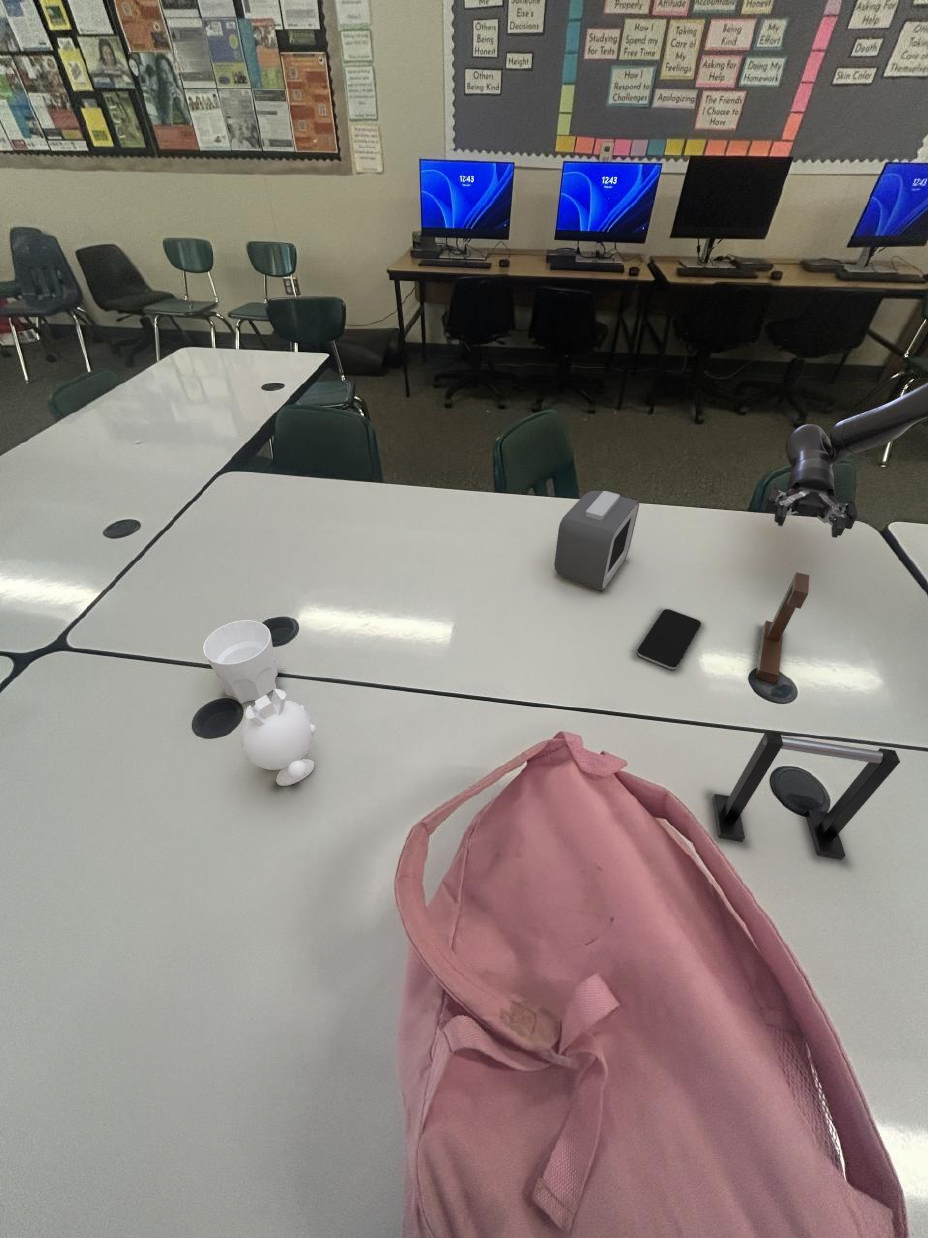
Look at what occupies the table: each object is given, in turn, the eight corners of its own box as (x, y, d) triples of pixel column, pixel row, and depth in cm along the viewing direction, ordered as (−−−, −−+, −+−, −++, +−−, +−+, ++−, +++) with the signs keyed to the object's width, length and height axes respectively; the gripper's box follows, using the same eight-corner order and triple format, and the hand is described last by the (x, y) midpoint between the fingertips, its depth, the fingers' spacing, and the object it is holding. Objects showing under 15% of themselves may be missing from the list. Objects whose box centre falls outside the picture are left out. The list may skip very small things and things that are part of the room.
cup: (296, 678, 95) (283, 635, 88) (248, 717, 89) (231, 673, 82) (256, 655, 99) (242, 612, 93) (208, 690, 93) (189, 647, 86)
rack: (828, 816, 76) (894, 735, 64) (842, 859, 71) (915, 780, 60) (712, 797, 78) (755, 715, 66) (718, 837, 73) (765, 757, 62)
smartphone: (703, 621, 105) (676, 669, 95) (702, 624, 105) (675, 671, 96) (664, 607, 108) (635, 652, 98) (663, 610, 108) (634, 654, 99)
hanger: (779, 633, 103) (813, 565, 93) (774, 683, 94) (811, 614, 84) (762, 628, 104) (793, 560, 94) (755, 677, 95) (789, 608, 85)
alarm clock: (600, 596, 112) (613, 528, 101) (548, 578, 116) (556, 512, 106) (627, 556, 122) (642, 491, 112) (579, 541, 127) (589, 477, 116)
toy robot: (343, 787, 79) (326, 720, 69) (278, 824, 75) (250, 759, 65) (300, 719, 88) (279, 651, 79) (239, 749, 84) (210, 681, 74)
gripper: (777, 459, 107) (772, 499, 96) (861, 474, 102) (866, 517, 91) (763, 494, 112) (757, 536, 101) (843, 510, 107) (845, 555, 96)
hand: (809, 527), depth 96 cm, fingers open, 8 cm apart
